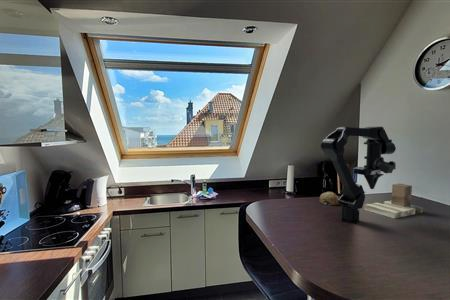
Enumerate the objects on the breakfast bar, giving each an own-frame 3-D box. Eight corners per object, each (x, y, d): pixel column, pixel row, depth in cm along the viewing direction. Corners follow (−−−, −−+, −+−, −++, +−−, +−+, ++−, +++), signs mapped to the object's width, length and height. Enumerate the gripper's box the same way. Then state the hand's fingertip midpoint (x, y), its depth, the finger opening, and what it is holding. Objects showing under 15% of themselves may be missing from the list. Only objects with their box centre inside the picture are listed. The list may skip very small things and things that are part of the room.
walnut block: (403, 206, 132) (404, 186, 132) (391, 203, 138) (392, 184, 137) (410, 205, 135) (412, 185, 134) (398, 202, 140) (399, 183, 140)
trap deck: (394, 218, 122) (394, 213, 122) (364, 209, 136) (364, 204, 135) (422, 212, 132) (422, 207, 132) (391, 204, 145) (392, 200, 145)
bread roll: (318, 209, 148) (317, 197, 144) (321, 198, 156) (320, 186, 152) (338, 212, 143) (338, 200, 140) (339, 200, 151) (339, 188, 148)
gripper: (377, 156, 110) (375, 194, 111) (404, 155, 119) (402, 190, 120) (353, 154, 120) (351, 189, 121) (380, 153, 129) (378, 186, 130)
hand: (372, 188), depth 123 cm, fingers closed
